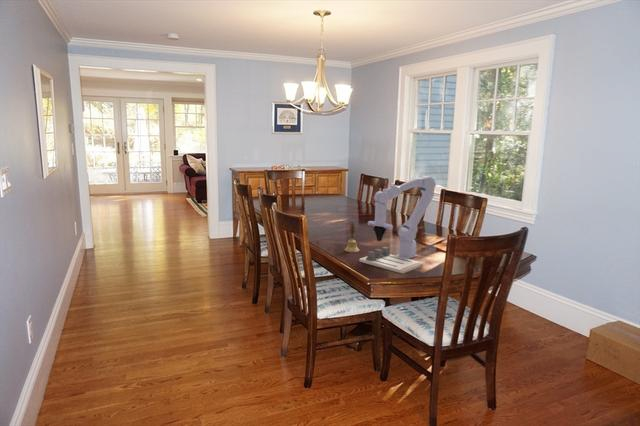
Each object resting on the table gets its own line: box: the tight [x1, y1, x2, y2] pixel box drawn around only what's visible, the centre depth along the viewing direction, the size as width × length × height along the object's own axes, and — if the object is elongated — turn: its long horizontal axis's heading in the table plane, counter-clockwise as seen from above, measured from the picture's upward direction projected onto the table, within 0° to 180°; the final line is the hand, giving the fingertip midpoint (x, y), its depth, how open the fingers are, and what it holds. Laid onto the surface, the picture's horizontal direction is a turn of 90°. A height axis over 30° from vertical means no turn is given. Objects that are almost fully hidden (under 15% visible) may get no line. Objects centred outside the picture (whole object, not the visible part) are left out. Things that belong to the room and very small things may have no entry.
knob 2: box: [381, 246, 391, 256], centre depth 232 cm, size 4×4×4 cm
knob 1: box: [366, 250, 376, 261], centre depth 223 cm, size 4×4×4 cm
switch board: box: [359, 253, 424, 275], centre depth 223 cm, size 18×26×2 cm
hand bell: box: [344, 221, 360, 253], centre depth 244 cm, size 8×8×16 cm
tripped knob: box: [374, 248, 383, 258], centre depth 228 cm, size 4×4×4 cm
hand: (379, 240), depth 230 cm, fingers closed
